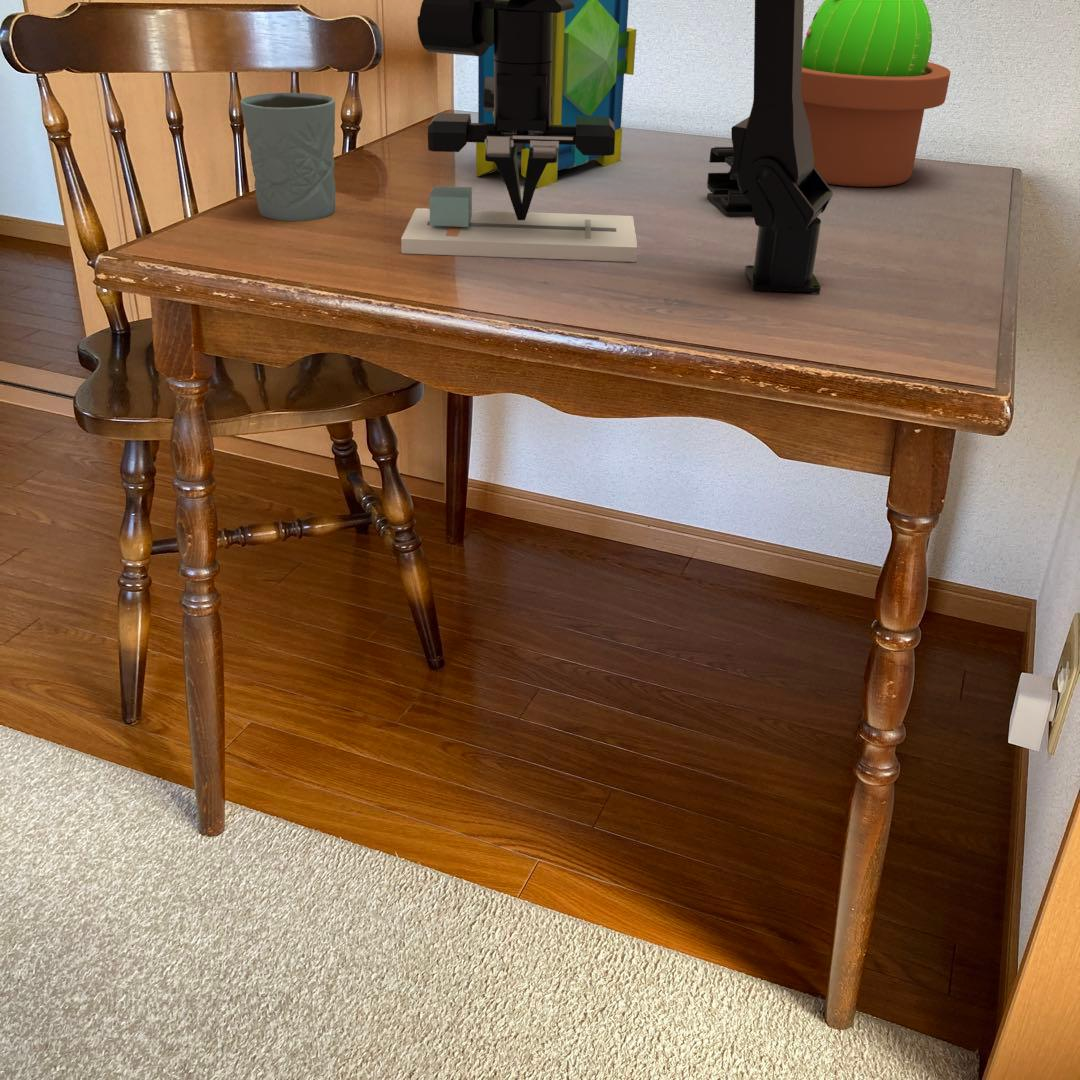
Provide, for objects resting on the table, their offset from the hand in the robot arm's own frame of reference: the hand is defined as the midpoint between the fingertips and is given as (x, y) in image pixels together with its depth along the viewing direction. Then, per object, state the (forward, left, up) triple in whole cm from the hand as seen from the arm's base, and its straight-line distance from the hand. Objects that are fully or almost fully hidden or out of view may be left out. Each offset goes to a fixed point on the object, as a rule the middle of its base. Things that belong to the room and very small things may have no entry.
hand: (521, 219), depth 119 cm
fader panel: (0, 0, -2) cm, 2 cm away
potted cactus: (+38, -42, -3) cm, 57 cm away
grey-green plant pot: (+9, +26, -3) cm, 28 cm away
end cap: (+18, -26, -3) cm, 32 cm away
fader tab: (0, +7, 0) cm, 7 cm away
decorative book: (+34, -2, -3) cm, 34 cm away
